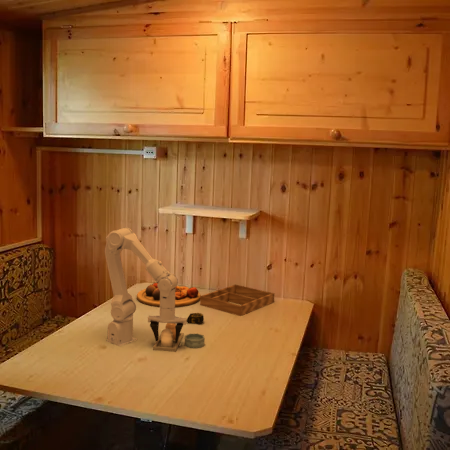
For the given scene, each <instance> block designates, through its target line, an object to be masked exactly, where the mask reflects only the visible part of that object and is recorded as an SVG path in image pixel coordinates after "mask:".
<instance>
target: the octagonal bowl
mask: <svg viewBox="0 0 450 450" xmlns="http://www.w3.org/2000/svg"><path fill="white" fill-rule="evenodd" d="M204 346H205V336H204V334H201V333H188V334H186V335H185V334H184V347H186V348H188V349H201V348H202V347H204Z"/></svg>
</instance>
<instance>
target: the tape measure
mask: <svg viewBox="0 0 450 450" xmlns="http://www.w3.org/2000/svg"><path fill="white" fill-rule="evenodd" d="M204 317H205V316H204V314H203V313H201V312H200V313H199V312H195V313H193V312H192V313H190V314H189V315H188V317H186V318H187V323H186V324H193V325H200V324H202V323H203V322H204V321H205V318H204Z"/></svg>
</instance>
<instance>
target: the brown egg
mask: <svg viewBox="0 0 450 450" xmlns="http://www.w3.org/2000/svg"><path fill="white" fill-rule="evenodd" d="M176 325H177V324H175V323H165V328H164V329H166V328H168V329H170V330H171V331H172V333H173V340H175V338H176V329H175V326H176Z"/></svg>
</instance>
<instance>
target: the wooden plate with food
mask: <svg viewBox="0 0 450 450" xmlns="http://www.w3.org/2000/svg"><path fill="white" fill-rule="evenodd" d="M157 284H158V283H157V282H156V281H155V282H153V283H152V284H148V286H147V287H146V288H143V289H141V290H140V291H138V292H137V294H136V299H137V300H138V302H139V303H142V304H144V305H146V306H149V307H150V306H151V307H156V308H160V290H159V289H158V286H157ZM200 296H202V295H201V293H200V292H199V289H198V288H197V287H196V286H195V287H194V286H193V287H188V286H179V285H177V286H176V287H175V308H180V307H182V308H183V307H187V306H191V305H194V304H196V303H199V302H200Z"/></svg>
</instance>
